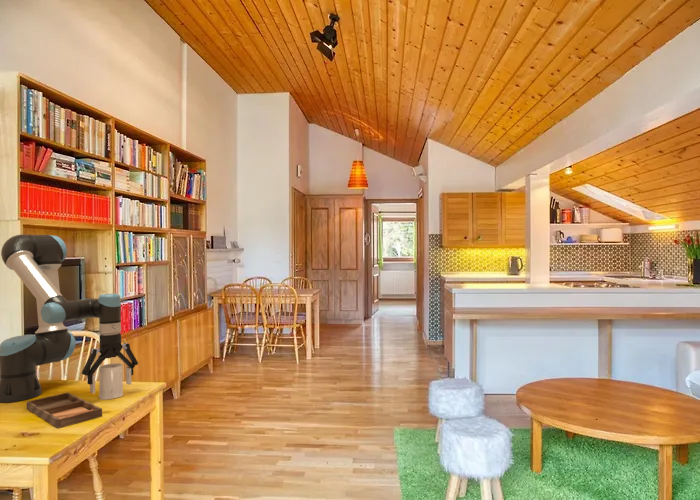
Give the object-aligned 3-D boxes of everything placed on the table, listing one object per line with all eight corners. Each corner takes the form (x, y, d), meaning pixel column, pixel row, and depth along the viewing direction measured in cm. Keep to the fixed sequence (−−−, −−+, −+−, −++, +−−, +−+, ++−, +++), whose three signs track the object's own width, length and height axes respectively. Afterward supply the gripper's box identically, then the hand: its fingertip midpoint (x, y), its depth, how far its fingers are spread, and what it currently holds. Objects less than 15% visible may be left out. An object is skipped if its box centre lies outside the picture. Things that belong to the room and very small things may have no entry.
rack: (26, 408, 166) (26, 400, 166) (68, 399, 177) (68, 391, 177) (57, 428, 147) (57, 419, 147) (102, 416, 158) (102, 407, 158)
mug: (122, 400, 175) (122, 368, 175) (97, 403, 171) (97, 371, 171) (123, 391, 186) (123, 362, 186) (99, 394, 182) (99, 364, 182)
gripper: (79, 339, 167) (80, 398, 166) (146, 329, 186) (147, 382, 186) (71, 337, 171) (72, 394, 171) (137, 328, 191) (138, 379, 190)
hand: (111, 388), depth 178 cm, fingers open, 13 cm apart
